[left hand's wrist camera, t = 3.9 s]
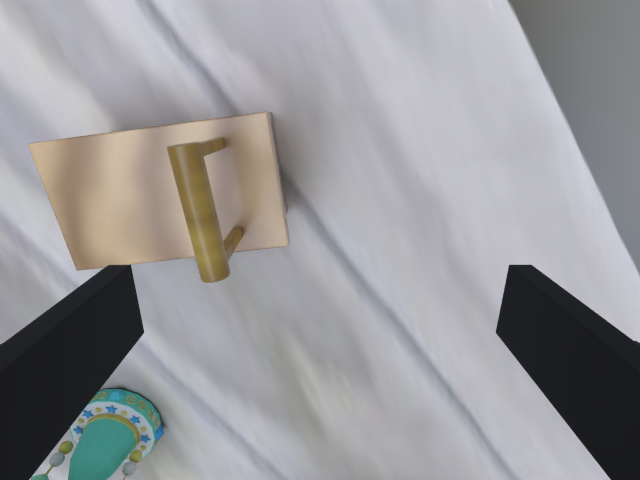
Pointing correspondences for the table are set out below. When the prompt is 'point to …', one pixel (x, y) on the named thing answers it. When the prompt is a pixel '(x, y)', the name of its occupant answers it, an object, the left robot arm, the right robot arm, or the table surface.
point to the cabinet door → (167, 193)
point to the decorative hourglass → (109, 436)
